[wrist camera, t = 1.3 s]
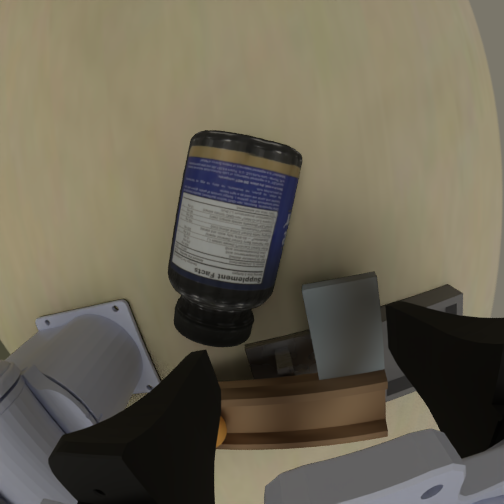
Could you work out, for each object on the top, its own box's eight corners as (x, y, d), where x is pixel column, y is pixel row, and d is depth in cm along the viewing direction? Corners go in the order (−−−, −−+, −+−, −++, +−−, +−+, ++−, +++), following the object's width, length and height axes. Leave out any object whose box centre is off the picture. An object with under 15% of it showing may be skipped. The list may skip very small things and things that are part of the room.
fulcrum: (266, 413, 24) (268, 440, 21) (245, 344, 23) (244, 370, 19) (325, 399, 24) (333, 425, 21) (312, 328, 22) (322, 351, 19)
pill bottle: (281, 153, 20) (247, 309, 23) (188, 134, 18) (161, 300, 21) (324, 153, 15) (274, 357, 17) (197, 122, 13) (161, 351, 15)
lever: (199, 430, 22) (188, 453, 20) (146, 308, 20) (126, 326, 17) (384, 416, 19) (388, 442, 16) (374, 271, 16) (383, 289, 14)
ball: (198, 429, 21) (186, 457, 18) (184, 400, 20) (169, 428, 18) (236, 428, 20) (227, 459, 18) (224, 399, 20) (212, 429, 17)
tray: (371, 388, 24) (379, 404, 22) (364, 311, 22) (375, 324, 20) (446, 360, 23) (457, 372, 21) (447, 284, 22) (462, 293, 20)
